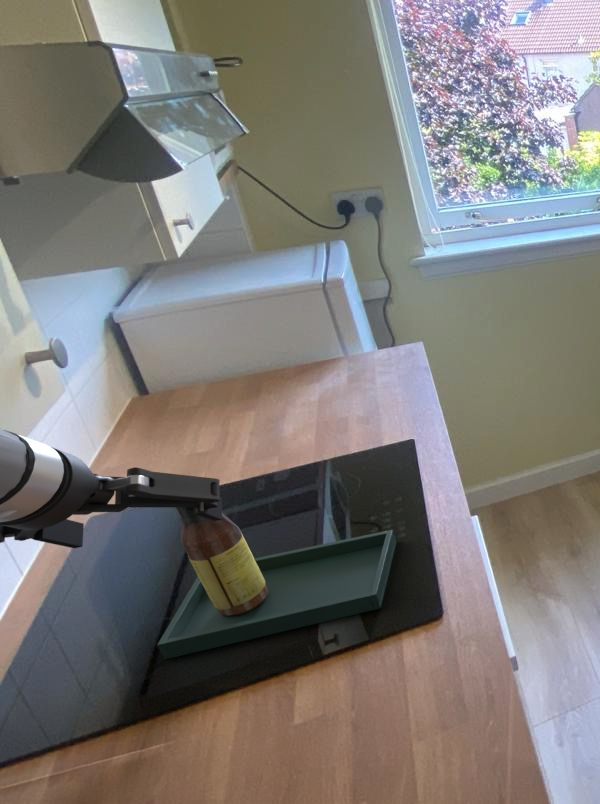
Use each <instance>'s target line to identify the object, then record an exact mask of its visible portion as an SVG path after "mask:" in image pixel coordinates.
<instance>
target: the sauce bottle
mask: <svg viewBox="0 0 600 804" xmlns="http://www.w3.org/2000/svg"><path fill="white" fill-rule="evenodd" d="M175 509H176V511H177V512H178V515H179V516H180V520H181V522H182V525H181V529H180V542H181V546H183V548H184V550H185V552H186V554H187V558H188V560H189V562H190V565H192V567H193V570H194V572H195V573H196V575H197V577H199V579H200V581H201V583H202V585H203V586H204V588H205V590H206V592H207V594H208V596H209V598H210V600H211V601H212V603H213V605H214V607H216V608H217V609H218V611H219V613H220V614H221V615H223V616H231V615H240V614H242V613H245V612H247V611H250V610H252V609H254V608H255V607H257V606H258V605H259V604H260V603H262V602H263V601H264V599H265V598H266V596H267V594H268V589H267V587H266V585H265V580H264V578H263V575H262V573H261V571H260V569H259V567H258V565H257V563H256V561H255V559H254V558H255V557H254V555H253V553H252V551H251V549H250V547H249V545H248V543H247V541H246V539H245V537H244V535H243V533H242V531H241V529H240V527H239V526H238V525H237V524H236V523H234V522H233V521H232V520H231V519H230V518H229V517H228V516H227V515H226V514H224V513H223V512H222V520H217V521H213V520H210V519H207V518H205V517H202V516H199V515H196V514H193V513H190V512H187V511H186V507H175Z"/></svg>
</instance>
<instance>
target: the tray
mask: <svg viewBox="0 0 600 804" xmlns="http://www.w3.org/2000/svg"><path fill="white" fill-rule="evenodd" d="M396 547H397V540H396V537H395V534H394V530H393V529H388V530H384V531H379V532H374V533H370V534H364V535H360V536H355V537H351V538H346V539H341V540H336V541H331V542H327V543H322V544H317V545H312V546H308V547H301V548H298V549H293V550H288V551H283V552H278V553H274V554H269V555H264V556H259V557H254V559H255V561H256V563H257V565H258V567H259V569H260V571H261V573H262V575H263V578H264V580H265V585H266V587H267V589H268V594H267V596H266V598H265V599H264V601H263V602H262V603H260V604H259V605H258V606H257V607H255V608H254V609H252V610H250V611H247V612H245V613H242V614H240V615H231V616H223V615H221V614H220V613H219V611H218V609H217V608H216V607H214V605H213V603H212V601H211V600H210V598H209V596H208V594H207V592H206V590H205V588H204V586H203V585H202V583H201V581H200V579H199V577H198V576H197V577H196V579H195V580H194V582H193V584H192V586H191V587H190V588H189V590H188V592H187V594H186V595H185V597H184V598H183V600H182V602H181V604H180V605H179V607H178V609H177V611H176V612H175V614H174V615H173V617H172V619H171V621H170V622H169V624H168V626H167V628H166V629H165V631H164V633H163V634H162V636H161V638H160V639H159V641H158V643H157V648H158V650H159V651H160V654H161V655H162V657H163V659H164V660H169V659H174V658H177V657H182V656H186V655H189V654H190V655H191V654H194V653H199V652H202V651H207V650H212V649H216V648H219V647H220V648H221V647H223V646H228V645H232V644H237V643H242V642H246V641H249V640H253V639H254V640H255V639H259V638H262V637H267V636H271V635H274V634H279V633H283V632H287V631H291V630H295V629H300V628H305V627H309V626H313V625H316V624H317V625H318V624H321V623H325V622H329V621H335V620H338V619H343V618H346V617H351V616H355V615H359V614H364V613H367V612H372V611H376V610H380V609H382V605H383V601H384V596H385V592H386V589H387V584H388V580H389V576H390V571H391V568H392V564H393V559H394V555H395V550H396Z"/></svg>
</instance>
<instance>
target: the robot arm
mask: <svg viewBox="0 0 600 804" xmlns="http://www.w3.org/2000/svg"><path fill="white" fill-rule="evenodd" d="M220 494H221V493H220V478H215V477H205V476H196V475H188V474H177V473H169V472H160V471H159V472H158V471H152V470H149V469H146V468H142V467H129V468H128V469H127V470H126V476H107V475H106V476H103V475H99V474H97V473H94V472H93V471H92V470H91V469H90V468H89V466H88V465H87V464H86V462H85V461H84V460H82V459H81V458H79V457H77V456H76V455H74V454H71V453H68V452H65V451H63V450H60V449H58V448H55V447H52V446H50V445H48V444H46V443H43V442H41V441H38V440H35V439H32V438H30V437H27V436H24V435H22V434H18V433H15V432H12V431H9V430H6V429H2V428H0V544H2V543H5V541H6V538H13V540H14V541H20V542H25V541H27V540H33V541H37V542H42V543H47V544H51V545H56V546H62V547H66V548H71V549H79V548H83V547H84V546H83V543H84V526H85V524H84V523H83V522H79V521H75V520H71V519H69V518H70V517H72V516H88V515H90V514H92V513H120V512H121V513H122V512H123V511H125V510H126V509H128V508H176V507H186V511H187V512H190V513H193V514H196V515H199V516H202V517H205V518H207V519H210V520H213V521H217V520H222V513H223V497H221V496H220ZM113 497H115V498H114V503H110V502H111V500H112V498H113Z"/></svg>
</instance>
